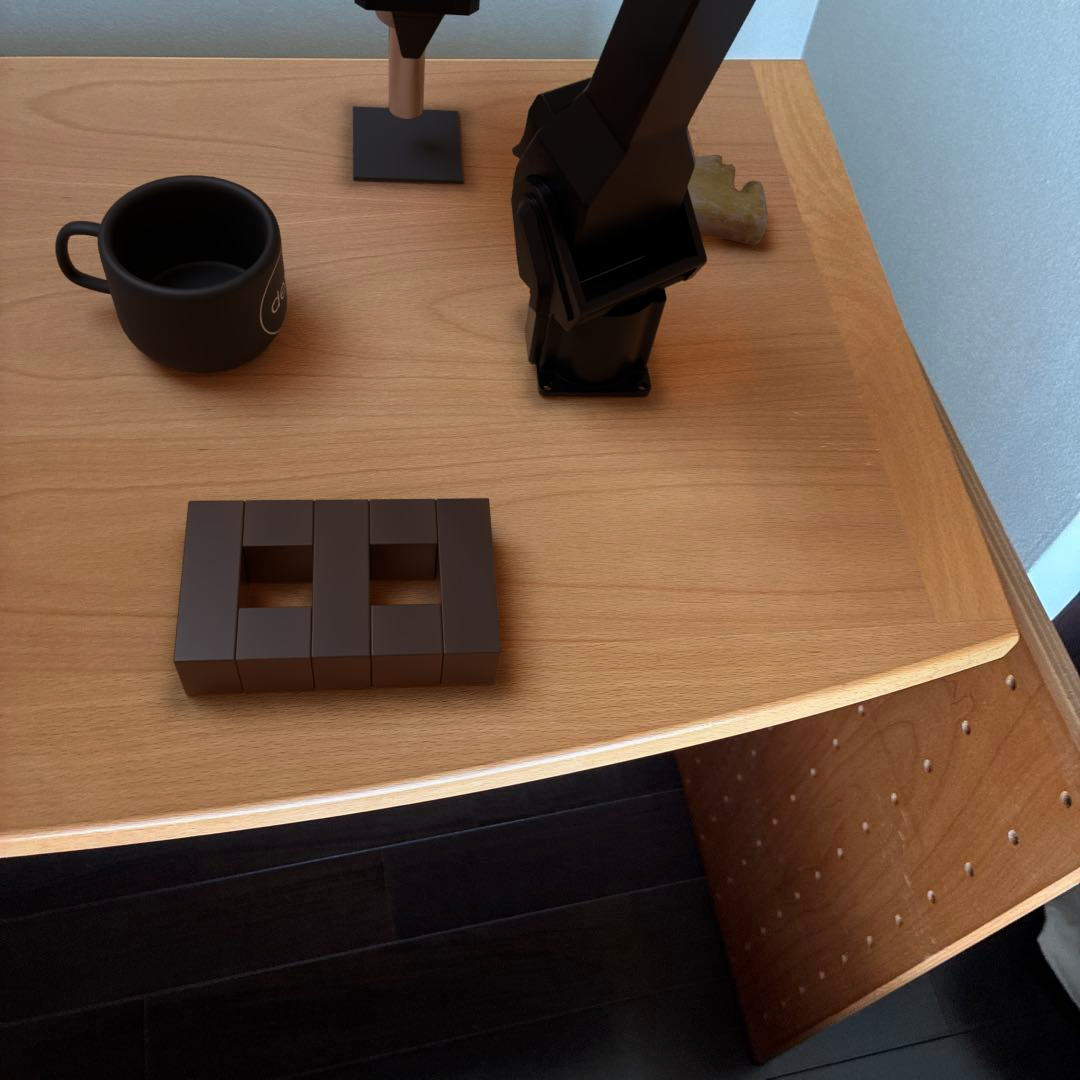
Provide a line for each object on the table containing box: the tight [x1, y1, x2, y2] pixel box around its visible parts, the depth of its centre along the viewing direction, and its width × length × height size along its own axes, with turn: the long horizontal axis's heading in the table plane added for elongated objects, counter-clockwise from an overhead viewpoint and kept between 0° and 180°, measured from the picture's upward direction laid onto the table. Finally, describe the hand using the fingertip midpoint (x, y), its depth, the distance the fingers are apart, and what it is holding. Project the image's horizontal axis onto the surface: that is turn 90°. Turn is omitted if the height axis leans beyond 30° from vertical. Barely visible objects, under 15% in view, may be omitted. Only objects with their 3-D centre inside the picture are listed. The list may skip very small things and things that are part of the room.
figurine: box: [688, 154, 769, 246], centre depth 69 cm, size 5×5×15 cm
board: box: [172, 497, 502, 696], centre depth 52 cm, size 14×8×4 cm, turn 95°
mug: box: [54, 174, 288, 375], centre depth 59 cm, size 12×9×7 cm
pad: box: [352, 105, 465, 185], centre depth 72 cm, size 7×7×1 cm
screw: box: [374, 11, 426, 119], centre depth 66 cm, size 4×4×8 cm
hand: (409, 35), depth 65 cm, fingers closed on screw, 4 cm apart
